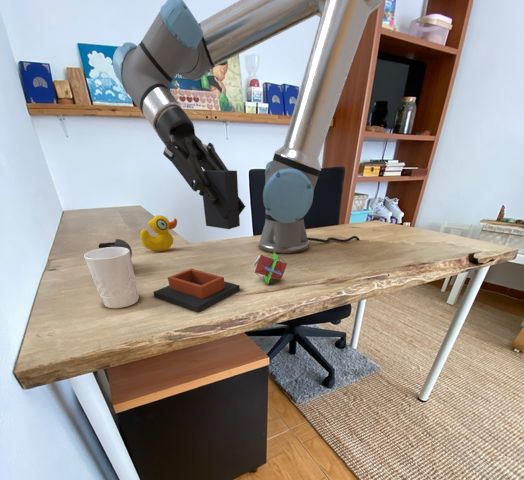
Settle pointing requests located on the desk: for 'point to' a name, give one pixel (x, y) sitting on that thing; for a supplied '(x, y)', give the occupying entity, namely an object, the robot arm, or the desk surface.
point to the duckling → (163, 236)
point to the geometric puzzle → (270, 267)
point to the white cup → (113, 276)
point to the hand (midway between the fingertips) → (234, 212)
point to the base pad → (196, 289)
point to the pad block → (229, 191)
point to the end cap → (116, 245)
